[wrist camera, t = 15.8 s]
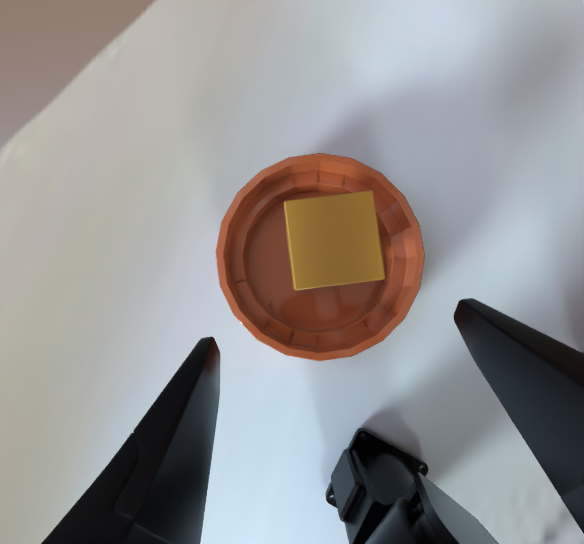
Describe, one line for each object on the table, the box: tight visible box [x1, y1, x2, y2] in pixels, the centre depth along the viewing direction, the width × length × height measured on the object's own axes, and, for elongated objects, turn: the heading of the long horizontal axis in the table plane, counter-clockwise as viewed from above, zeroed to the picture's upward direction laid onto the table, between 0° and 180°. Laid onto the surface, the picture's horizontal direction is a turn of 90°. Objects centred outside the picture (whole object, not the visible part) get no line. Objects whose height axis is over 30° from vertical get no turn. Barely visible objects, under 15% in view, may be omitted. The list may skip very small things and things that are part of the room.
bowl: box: [216, 153, 425, 361], centre depth 22 cm, size 15×15×4 cm
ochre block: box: [284, 190, 385, 290], centre depth 18 cm, size 4×4×10 cm
